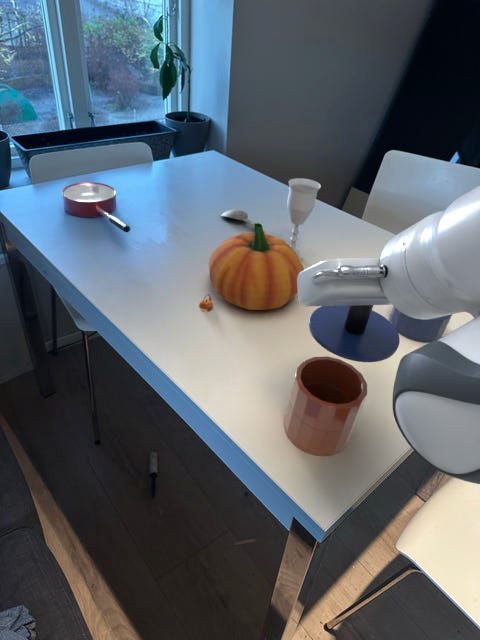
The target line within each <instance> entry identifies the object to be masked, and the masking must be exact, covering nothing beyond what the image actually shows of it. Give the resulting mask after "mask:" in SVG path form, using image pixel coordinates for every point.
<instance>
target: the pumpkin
mask: <svg viewBox="0 0 480 640" xmlns="http://www.w3.org/2000/svg"><path fill="white" fill-rule="evenodd" d="M253 224H254V226H253V231H254V232H239V233H236V234H235V235H233V236H231V237H229V238H228V239H226V240H223V242H221V244H220V245H219V246H218V247H216V248H215V250H214V251H212V252H211V255H210V257H209V260H208V272H209V279H210V283H211V285H212V286H213V288H214V290H215V291H216V293H217V294H218V295H219V296H220V298H221V299H223V300H225V301H226V302H228V303H230V304H232V305H234V306H237V307H239V308H242V309H246V310H248V311H261V310H262V311H263V310H272V309H279V308H282V307H283V306H284V305H285V304H287V303H288V302H290V301H291V300H292V299H293V298H294V297H295V296H296V295H297V294H298V290H297V277H298V274H299V273H300V272H301V271H303V270H305V268H304V267H303V264H302V260H300V259H299V257H298V255H297V254H296V252H295V251H294V250H293V249H292V248H291V247H290V245H289V244H288V242H286V240H283V239H282V238H280V237H277V236H273V235H271V234H269V233H268V234H269V235H268V234H265V233H264V231H265V230H264V228H263V225H262V224H261V223H259V222H256V223H253ZM263 230H264V231H263Z"/></svg>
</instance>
